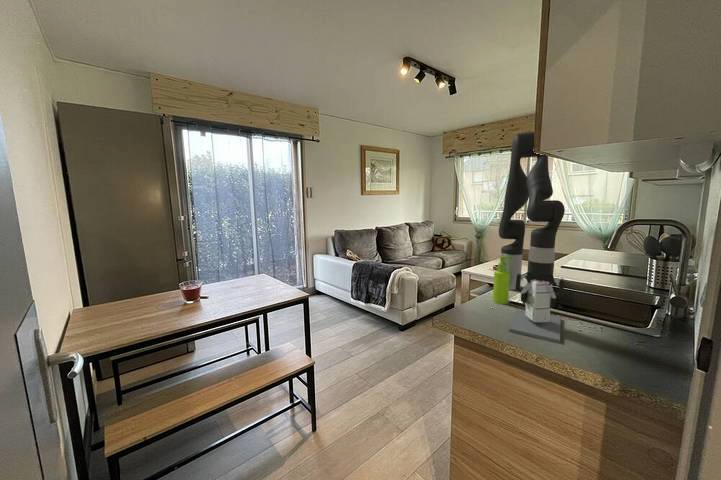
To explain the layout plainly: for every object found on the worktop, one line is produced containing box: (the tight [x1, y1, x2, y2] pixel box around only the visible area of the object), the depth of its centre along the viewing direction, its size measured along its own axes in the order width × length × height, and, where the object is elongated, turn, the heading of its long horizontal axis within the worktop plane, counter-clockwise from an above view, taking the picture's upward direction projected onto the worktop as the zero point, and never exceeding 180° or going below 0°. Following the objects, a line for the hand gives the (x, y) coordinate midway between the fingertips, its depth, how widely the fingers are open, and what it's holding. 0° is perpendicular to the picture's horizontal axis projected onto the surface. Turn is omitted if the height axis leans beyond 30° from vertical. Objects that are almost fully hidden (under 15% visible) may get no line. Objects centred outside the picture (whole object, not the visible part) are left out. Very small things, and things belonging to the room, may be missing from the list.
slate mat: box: [509, 308, 562, 344], centre depth 100 cm, size 20×14×1 cm
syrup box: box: [524, 280, 553, 322], centre depth 99 cm, size 6×6×14 cm
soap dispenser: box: [492, 255, 513, 305], centre depth 121 cm, size 6×7×20 cm
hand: (537, 305), depth 99 cm, fingers closed on syrup box, 7 cm apart
